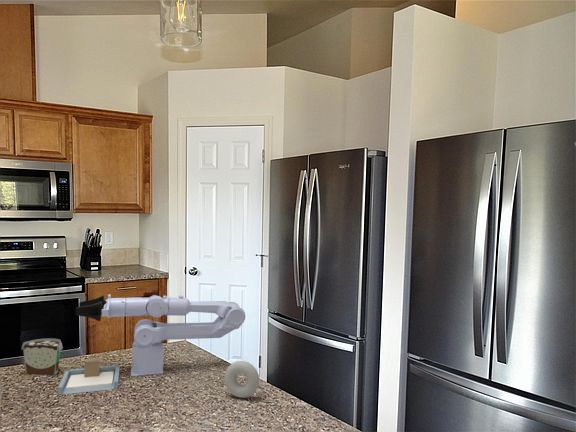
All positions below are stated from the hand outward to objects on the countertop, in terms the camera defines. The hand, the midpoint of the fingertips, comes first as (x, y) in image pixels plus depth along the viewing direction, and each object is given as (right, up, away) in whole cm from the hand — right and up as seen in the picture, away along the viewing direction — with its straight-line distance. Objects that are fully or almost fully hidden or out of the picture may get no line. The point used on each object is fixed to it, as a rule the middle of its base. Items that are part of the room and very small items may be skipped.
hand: (77, 308), depth 137 cm
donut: (+51, -22, -13) cm, 57 cm away
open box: (+6, -21, -4) cm, 22 cm away
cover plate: (+6, -21, -4) cm, 22 cm away
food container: (-12, -21, +5) cm, 25 cm away
